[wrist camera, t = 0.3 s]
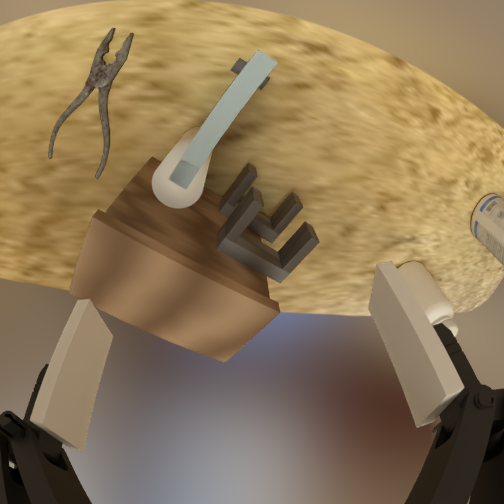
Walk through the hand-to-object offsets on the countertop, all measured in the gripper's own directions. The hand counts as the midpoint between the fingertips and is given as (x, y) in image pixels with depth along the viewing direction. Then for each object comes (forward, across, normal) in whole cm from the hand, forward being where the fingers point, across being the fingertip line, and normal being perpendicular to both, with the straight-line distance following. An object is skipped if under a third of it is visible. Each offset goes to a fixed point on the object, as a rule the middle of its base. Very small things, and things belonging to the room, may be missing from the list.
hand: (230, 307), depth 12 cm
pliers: (+26, -17, +11) cm, 33 cm away
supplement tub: (+26, +45, -13) cm, 53 cm away
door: (+25, -1, +5) cm, 26 cm away
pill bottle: (+26, +28, -25) cm, 45 cm away
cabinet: (+25, -4, -6) cm, 26 cm away
